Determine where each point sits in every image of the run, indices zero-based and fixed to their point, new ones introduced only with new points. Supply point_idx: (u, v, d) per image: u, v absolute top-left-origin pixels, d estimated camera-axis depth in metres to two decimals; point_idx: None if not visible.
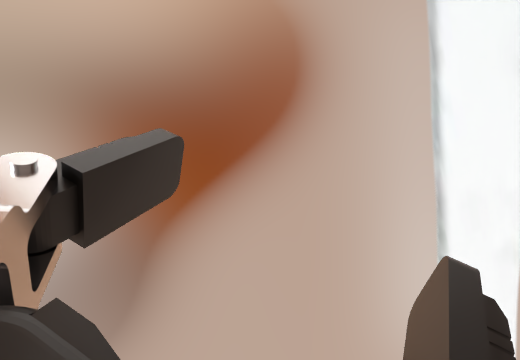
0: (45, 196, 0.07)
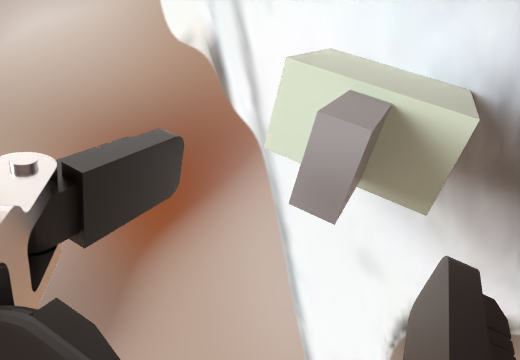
0: (45, 196, 0.07)
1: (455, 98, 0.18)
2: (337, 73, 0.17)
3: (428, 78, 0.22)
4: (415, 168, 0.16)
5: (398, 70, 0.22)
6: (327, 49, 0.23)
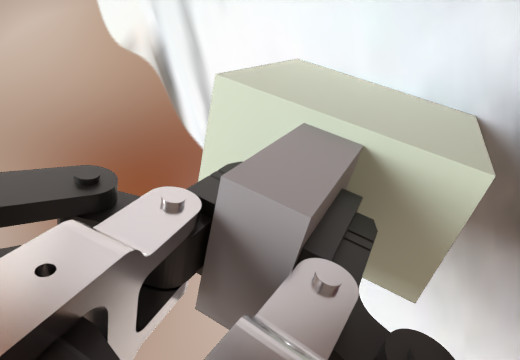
0: (176, 239, 0.07)
1: (456, 133, 0.12)
2: (285, 98, 0.11)
3: (420, 99, 0.16)
4: (399, 239, 0.11)
5: (381, 88, 0.17)
6: (291, 60, 0.18)
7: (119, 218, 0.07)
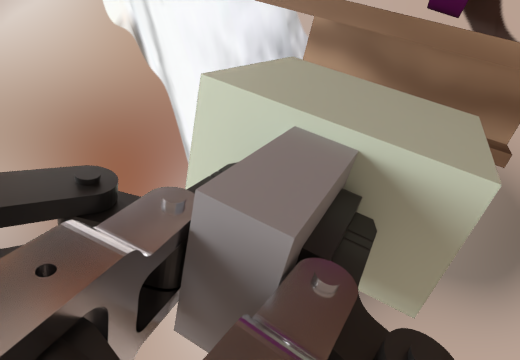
0: (177, 240, 0.07)
1: (459, 136, 0.12)
2: (275, 100, 0.11)
3: (421, 99, 0.16)
4: (397, 250, 0.10)
5: (379, 88, 0.16)
6: (285, 58, 0.17)
7: (120, 218, 0.07)
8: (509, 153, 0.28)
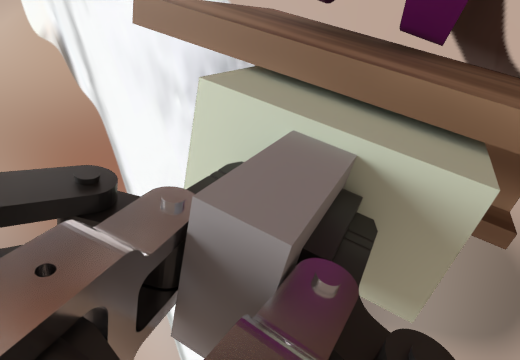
0: (176, 240, 0.07)
1: (457, 140, 0.12)
2: (273, 104, 0.11)
3: None
4: (395, 255, 0.10)
5: None
6: None
7: (119, 218, 0.07)
8: (513, 231, 0.21)
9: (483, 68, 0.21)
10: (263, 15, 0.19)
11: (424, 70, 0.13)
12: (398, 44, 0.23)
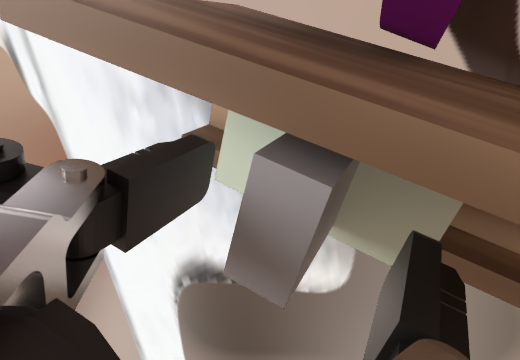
0: (89, 205, 0.07)
1: None
2: None
3: None
4: (402, 218, 0.12)
5: None
6: None
7: (23, 195, 0.07)
8: None
9: (491, 78, 0.17)
10: (206, 10, 0.14)
11: (410, 90, 0.09)
12: (385, 48, 0.19)
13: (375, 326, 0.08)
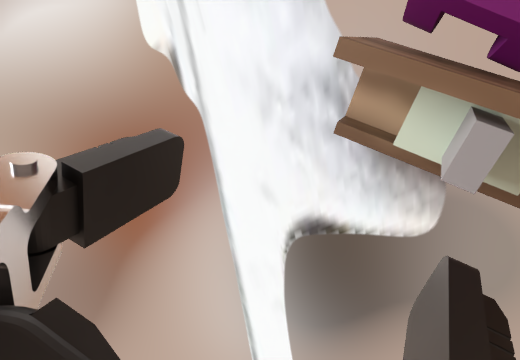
0: (45, 196, 0.07)
1: None
2: None
3: None
4: (513, 162, 0.24)
5: None
6: None
7: None
8: None
9: None
10: (398, 48, 0.26)
11: None
12: (482, 70, 0.30)
13: None
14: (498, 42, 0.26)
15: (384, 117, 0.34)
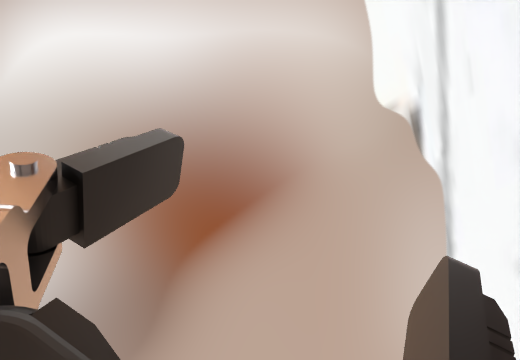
0: (45, 196, 0.07)
1: None
2: None
3: None
4: None
5: None
6: None
7: None
8: None
9: None
10: None
11: None
12: None
13: None
14: None
15: None
